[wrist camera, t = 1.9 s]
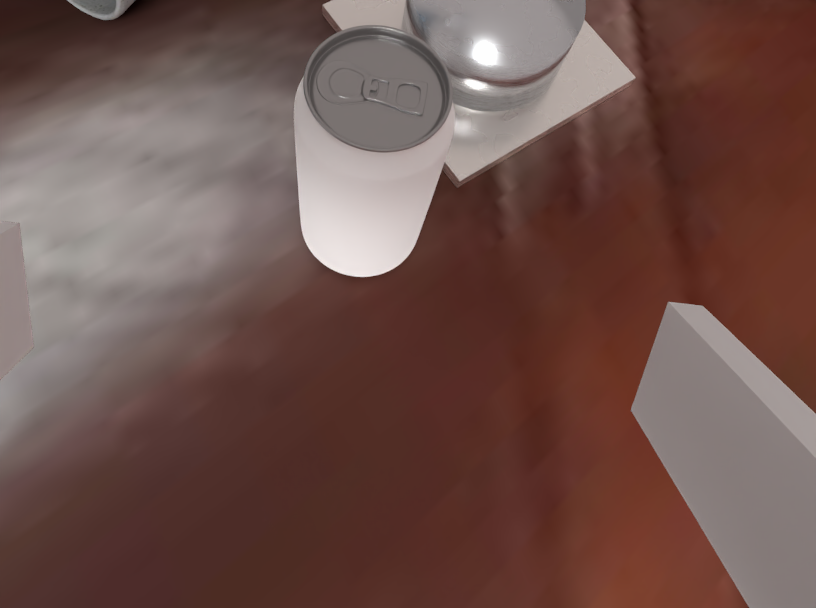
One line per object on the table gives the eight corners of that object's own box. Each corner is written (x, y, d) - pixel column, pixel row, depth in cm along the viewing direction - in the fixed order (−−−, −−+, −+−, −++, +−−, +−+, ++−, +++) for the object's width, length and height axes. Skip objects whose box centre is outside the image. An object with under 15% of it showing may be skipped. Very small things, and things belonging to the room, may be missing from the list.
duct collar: (322, 14, 39) (322, -52, 35) (497, -66, 43) (517, -134, 39) (456, 188, 37) (476, 141, 32) (630, 85, 41) (668, 31, 36)
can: (313, 163, 36) (310, -1, 25) (425, 185, 36) (473, 35, 25) (289, 267, 34) (274, 141, 23) (409, 290, 34) (453, 177, 23)
